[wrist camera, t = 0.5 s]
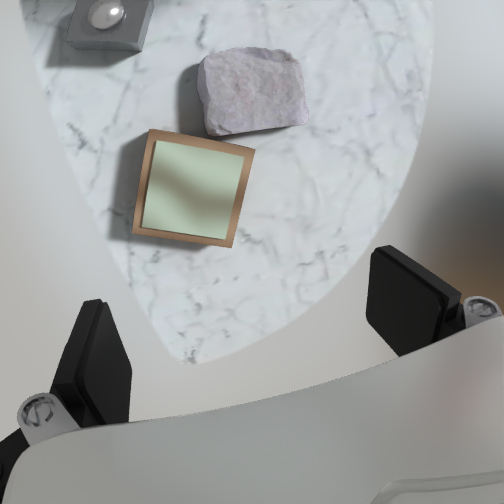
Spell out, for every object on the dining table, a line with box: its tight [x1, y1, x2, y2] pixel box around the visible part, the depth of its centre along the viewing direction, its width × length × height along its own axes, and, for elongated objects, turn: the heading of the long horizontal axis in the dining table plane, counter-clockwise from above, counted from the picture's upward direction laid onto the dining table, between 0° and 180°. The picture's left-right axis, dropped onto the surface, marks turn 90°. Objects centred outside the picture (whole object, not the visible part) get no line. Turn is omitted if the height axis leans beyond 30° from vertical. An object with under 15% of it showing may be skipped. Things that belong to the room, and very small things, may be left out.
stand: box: [132, 129, 255, 248], centre depth 34 cm, size 11×11×4 cm
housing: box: [65, 0, 154, 52], centre depth 25 cm, size 6×8×6 cm
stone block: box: [197, 47, 309, 136], centre depth 33 cm, size 12×5×10 cm
